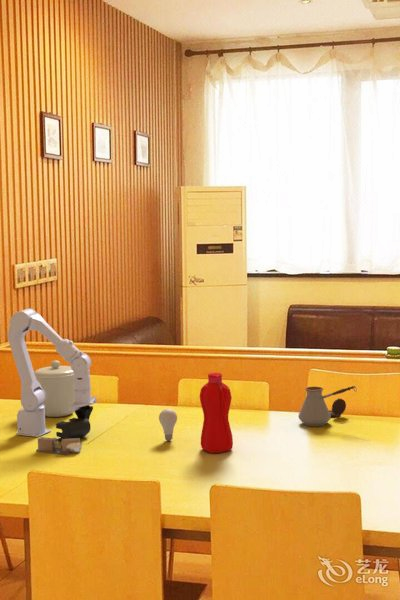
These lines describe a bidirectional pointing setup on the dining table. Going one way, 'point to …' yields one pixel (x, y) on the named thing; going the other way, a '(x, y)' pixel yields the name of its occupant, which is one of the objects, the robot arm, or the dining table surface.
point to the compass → (337, 408)
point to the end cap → (73, 428)
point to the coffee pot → (317, 406)
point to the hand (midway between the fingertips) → (84, 427)
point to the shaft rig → (51, 444)
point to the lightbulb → (168, 422)
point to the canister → (57, 388)
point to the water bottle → (216, 415)
